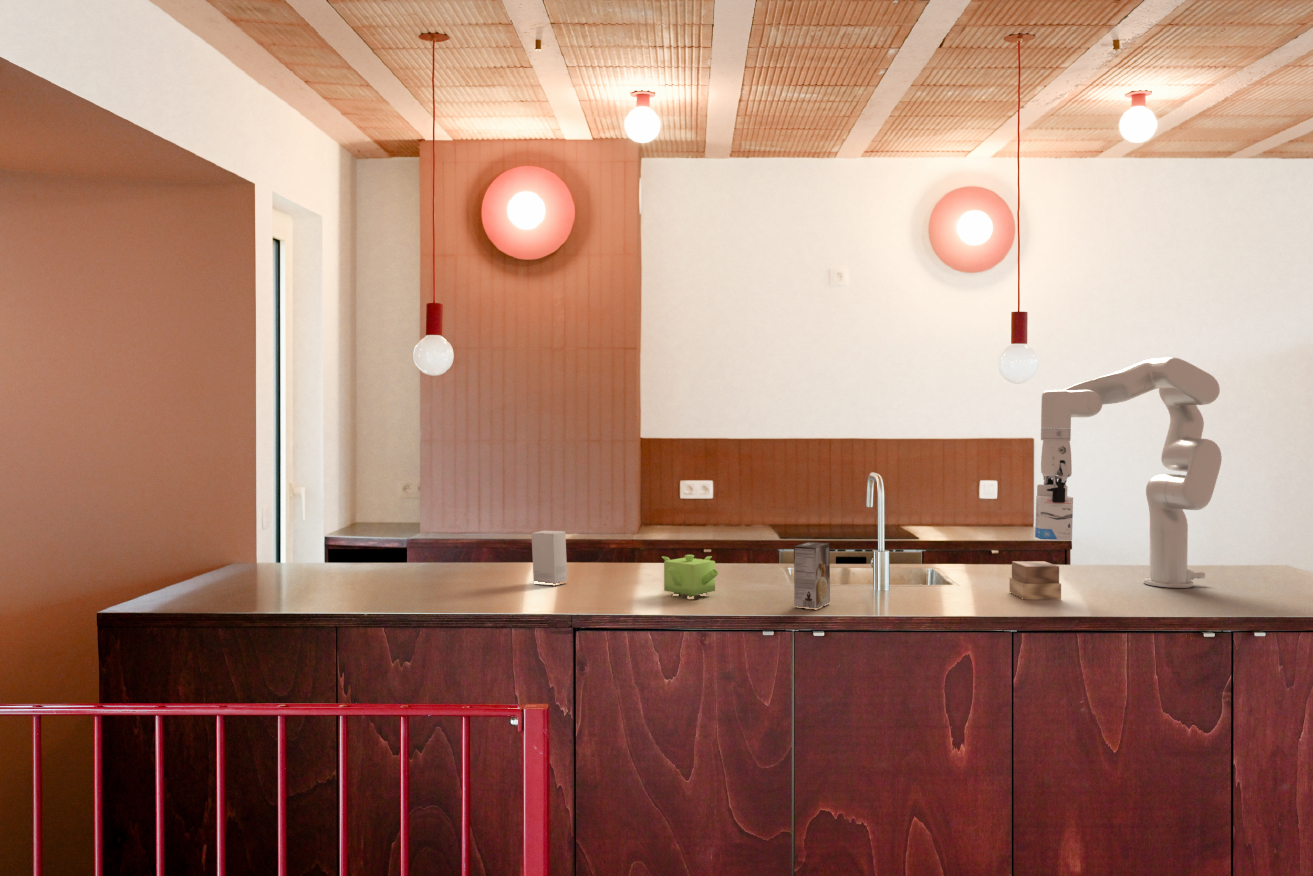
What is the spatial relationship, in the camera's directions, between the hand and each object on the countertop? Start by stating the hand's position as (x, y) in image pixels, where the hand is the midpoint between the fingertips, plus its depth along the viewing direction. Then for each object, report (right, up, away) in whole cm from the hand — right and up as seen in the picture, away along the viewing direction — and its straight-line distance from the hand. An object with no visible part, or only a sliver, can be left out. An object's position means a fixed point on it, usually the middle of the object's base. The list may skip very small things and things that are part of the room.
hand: (1054, 501), depth 258 cm
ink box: (0, -11, 0) cm, 11 cm away
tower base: (-7, -26, -4) cm, 27 cm away
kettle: (-100, -26, +1) cm, 103 cm away
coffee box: (-69, -26, -16) cm, 75 cm away
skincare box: (-140, -26, +19) cm, 144 cm away
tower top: (-7, -21, -4) cm, 23 cm away
